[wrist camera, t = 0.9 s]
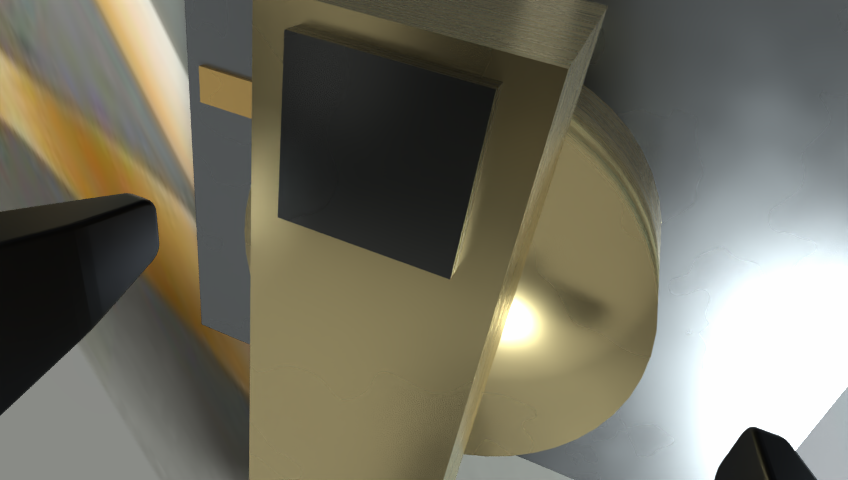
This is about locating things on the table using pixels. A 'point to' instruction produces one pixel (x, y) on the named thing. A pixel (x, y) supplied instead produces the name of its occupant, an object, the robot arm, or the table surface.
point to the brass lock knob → (438, 237)
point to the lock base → (679, 205)
